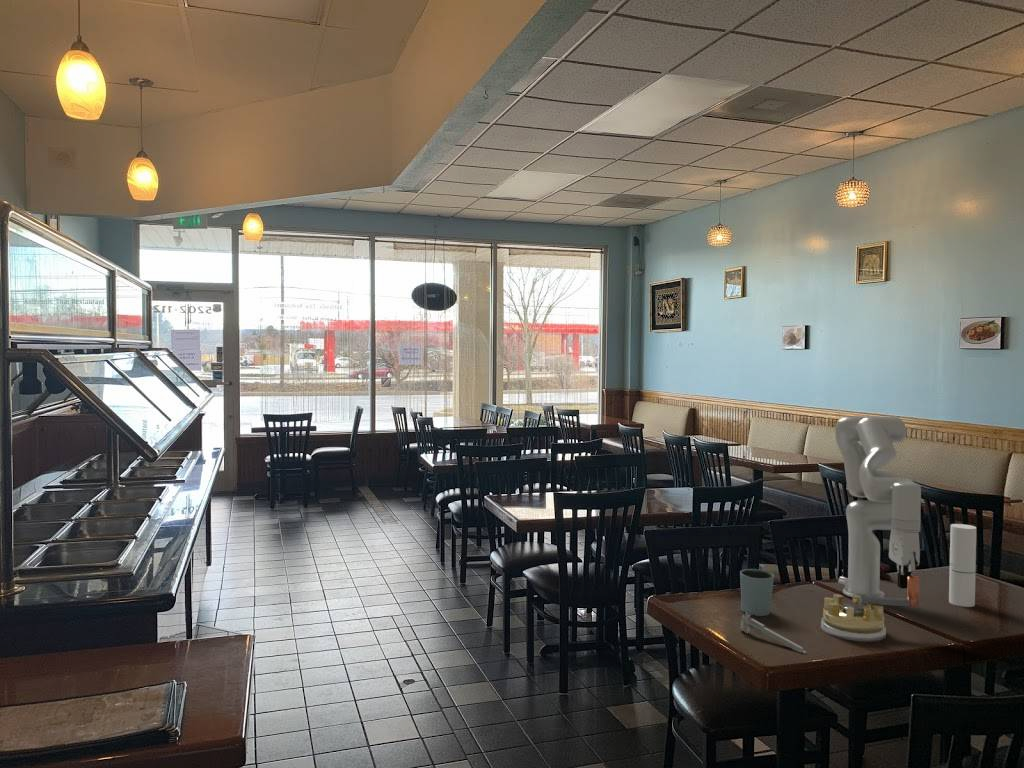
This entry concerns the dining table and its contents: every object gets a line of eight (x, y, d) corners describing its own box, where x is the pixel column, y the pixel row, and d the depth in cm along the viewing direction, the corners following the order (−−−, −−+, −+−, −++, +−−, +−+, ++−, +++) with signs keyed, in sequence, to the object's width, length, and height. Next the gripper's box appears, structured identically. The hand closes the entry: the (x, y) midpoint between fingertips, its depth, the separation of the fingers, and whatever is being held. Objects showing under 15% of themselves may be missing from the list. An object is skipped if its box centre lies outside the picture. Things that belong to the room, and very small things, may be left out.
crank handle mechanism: (850, 607, 230) (851, 561, 230) (920, 626, 213) (921, 577, 213) (811, 620, 218) (812, 572, 217) (882, 642, 201) (883, 590, 201)
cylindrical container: (967, 600, 245) (969, 524, 244) (979, 607, 238) (980, 529, 237) (944, 599, 245) (946, 523, 245) (955, 606, 238) (957, 528, 238)
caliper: (740, 632, 215) (740, 611, 215) (742, 632, 216) (742, 610, 215) (805, 655, 199) (805, 631, 198) (807, 654, 199) (807, 631, 199)
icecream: (847, 554, 278) (881, 568, 264) (861, 547, 281) (896, 561, 267) (849, 571, 279) (883, 586, 266) (863, 564, 282) (898, 578, 268)
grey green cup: (745, 604, 240) (746, 567, 239) (777, 610, 234) (778, 572, 233) (734, 612, 231) (735, 574, 231) (768, 619, 225) (768, 580, 225)
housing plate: (808, 627, 219) (808, 620, 219) (843, 617, 228) (843, 610, 228) (863, 646, 204) (863, 638, 204) (898, 634, 214) (898, 627, 214)
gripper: (881, 519, 225) (880, 579, 225) (903, 530, 210) (902, 595, 210) (907, 519, 224) (906, 580, 225) (931, 530, 209) (930, 595, 210)
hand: (904, 587), depth 218 cm, fingers closed
